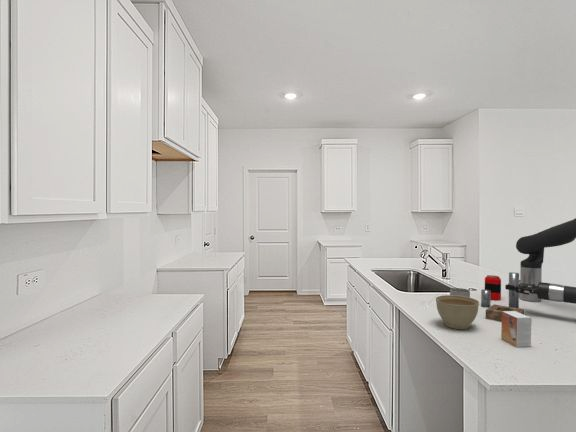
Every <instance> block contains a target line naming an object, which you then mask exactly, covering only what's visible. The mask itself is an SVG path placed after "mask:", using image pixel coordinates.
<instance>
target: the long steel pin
mask: <svg viewBox="0 0 576 432" xmlns="http://www.w3.org/2000/svg"><path fill="white" fill-rule="evenodd" d="M519 280H520V272H519V273H518V272H513V271H512V272H508V283H509V285H514V286H519ZM518 290H519V288H518ZM508 307H513V308H519V309H520V298H519V293H517V292H515V291H514V290H508Z"/></svg>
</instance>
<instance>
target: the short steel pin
mask: <svg viewBox="0 0 576 432" xmlns="http://www.w3.org/2000/svg"><path fill="white" fill-rule="evenodd" d="M480 291H481V294H480V296H481V297H480V300H481V301H480V302H481V303H480V307H482V308H486V309H487V308H489V307H490V306H492V304H491V302H492V300H491V291H490V290H486V289H485V288H483V289H481V290H480Z"/></svg>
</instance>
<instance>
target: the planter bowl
mask: <svg viewBox="0 0 576 432" xmlns="http://www.w3.org/2000/svg"><path fill="white" fill-rule="evenodd" d="M435 302H436V309H437V313H438V315H439V317H441V320H442V321H443V323H444V326H446V327H447V328H451V329H454V330H455V329H456V330H468V329H469V328H470V327H471V325H472V323H473V322H474V321H475V319H476V317H477V315H478V312H479V305H480V301H479V300H478V299H475V298H473V297H471V296H470V297H465V296H457V295H450V294H446V295H445V294H443V295H439V296H436V297H435Z"/></svg>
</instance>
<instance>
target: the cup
mask: <svg viewBox="0 0 576 432" xmlns="http://www.w3.org/2000/svg"><path fill="white" fill-rule="evenodd" d="M449 295H457V296H465V297H470V298H471V290H470V289H466V288H460V287H452V288H450V289H449Z"/></svg>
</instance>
